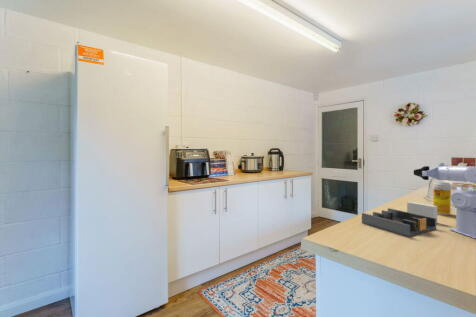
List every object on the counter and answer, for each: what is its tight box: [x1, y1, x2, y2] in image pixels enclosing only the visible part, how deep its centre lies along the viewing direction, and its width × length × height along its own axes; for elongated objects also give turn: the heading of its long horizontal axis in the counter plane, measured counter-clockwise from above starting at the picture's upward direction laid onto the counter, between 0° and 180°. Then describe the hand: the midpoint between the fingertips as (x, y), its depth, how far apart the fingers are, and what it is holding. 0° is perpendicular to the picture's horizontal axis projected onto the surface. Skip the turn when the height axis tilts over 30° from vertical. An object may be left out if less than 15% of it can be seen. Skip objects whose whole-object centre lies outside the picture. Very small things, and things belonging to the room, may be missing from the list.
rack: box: [361, 207, 438, 238], centre depth 94 cm, size 18×18×5 cm
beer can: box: [432, 180, 452, 216], centre depth 110 cm, size 6×6×15 cm
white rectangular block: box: [406, 201, 438, 224], centre depth 101 cm, size 10×3×7 cm, turn 25°
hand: (422, 172), depth 104 cm, fingers open, 7 cm apart
